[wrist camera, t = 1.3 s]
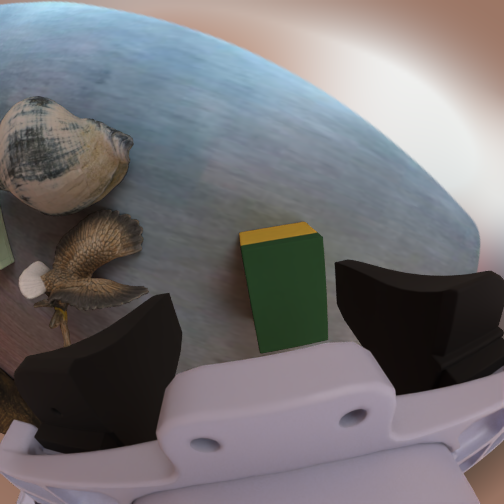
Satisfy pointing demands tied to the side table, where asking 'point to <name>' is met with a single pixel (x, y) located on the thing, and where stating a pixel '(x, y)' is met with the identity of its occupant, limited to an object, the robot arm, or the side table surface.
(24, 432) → the robot arm
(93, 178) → the seashell
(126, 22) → the side table surface
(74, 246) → the eagle figurine
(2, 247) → the tray
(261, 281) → the sponge
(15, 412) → the seashell
